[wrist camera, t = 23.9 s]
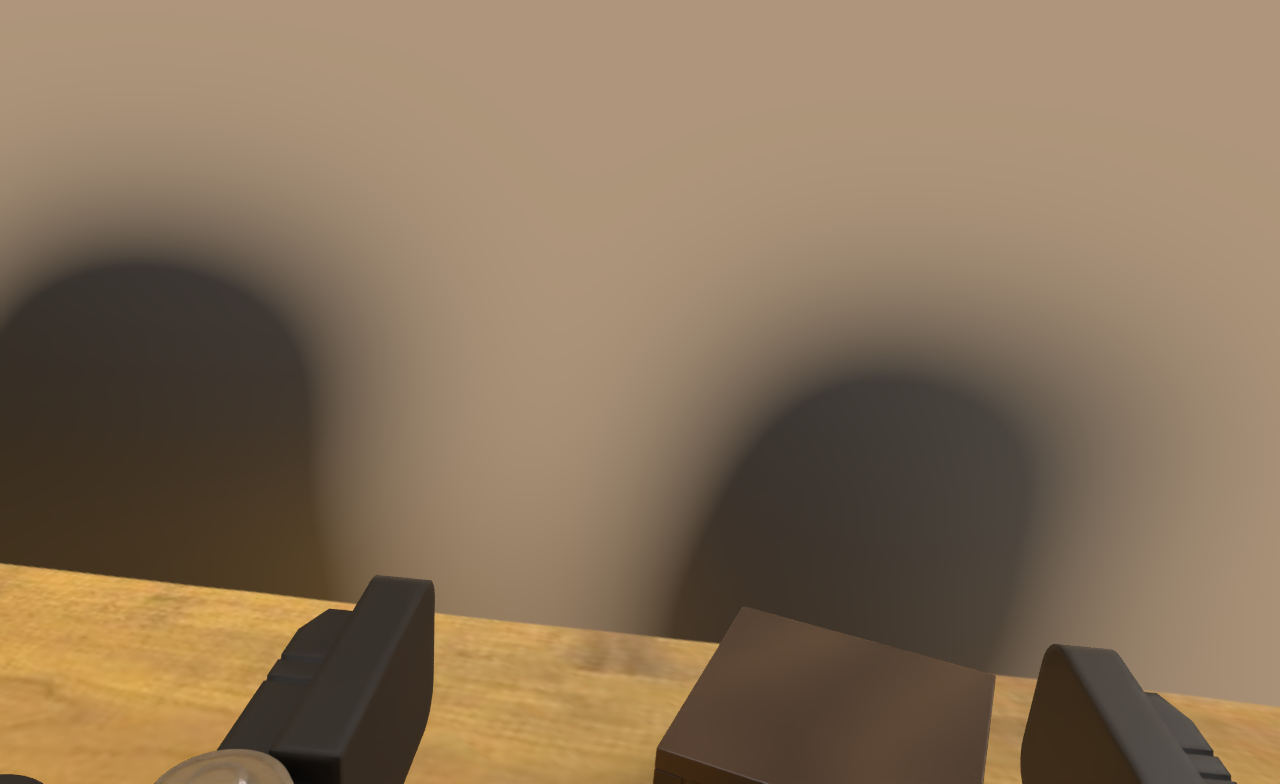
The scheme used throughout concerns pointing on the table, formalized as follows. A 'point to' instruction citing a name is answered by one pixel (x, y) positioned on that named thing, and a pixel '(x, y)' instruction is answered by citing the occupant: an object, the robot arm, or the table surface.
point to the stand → (826, 712)
